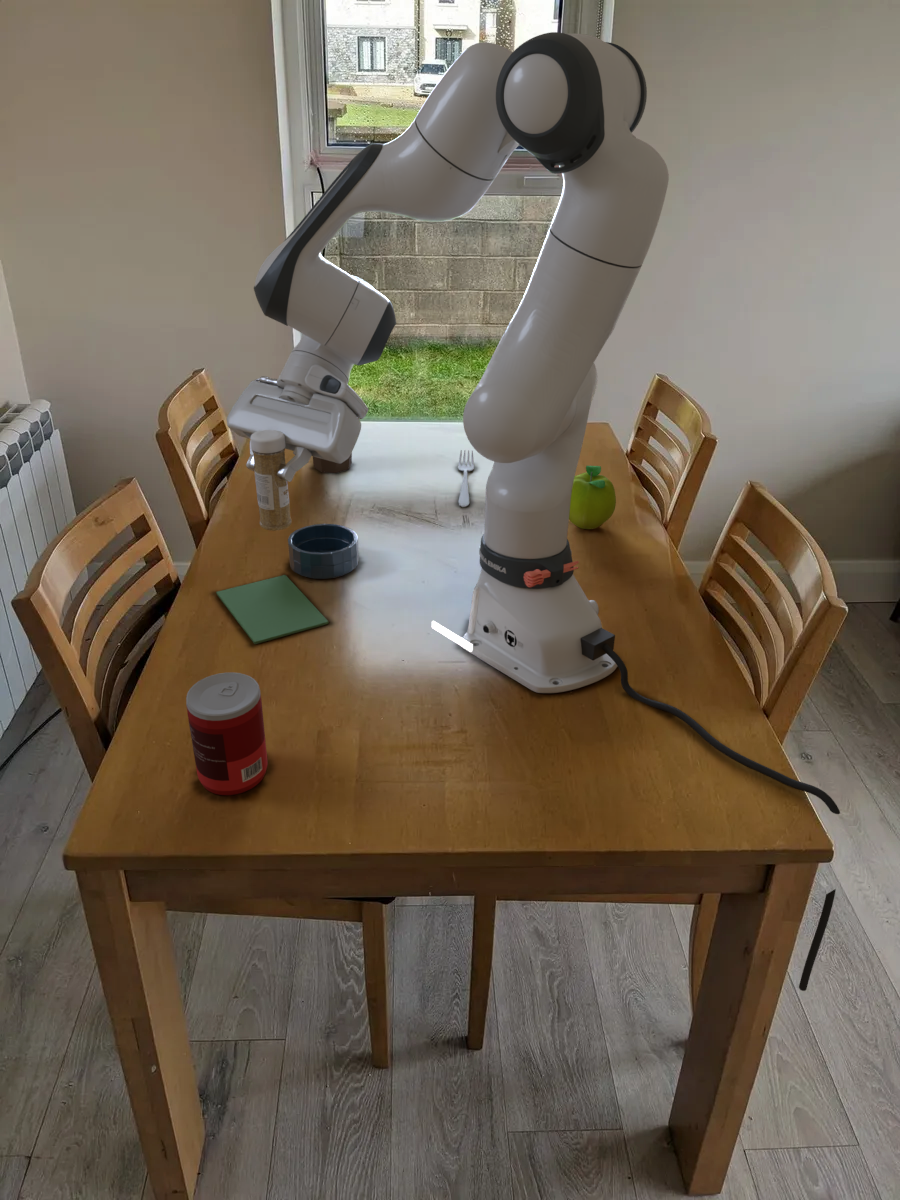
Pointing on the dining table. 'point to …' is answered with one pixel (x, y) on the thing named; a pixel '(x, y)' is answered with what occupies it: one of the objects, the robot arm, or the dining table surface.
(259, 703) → the canned food
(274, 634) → the green mat
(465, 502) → the fork
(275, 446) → the sprinkles bottle
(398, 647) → the dining table surface
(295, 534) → the dark blue bowl
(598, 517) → the fruit
